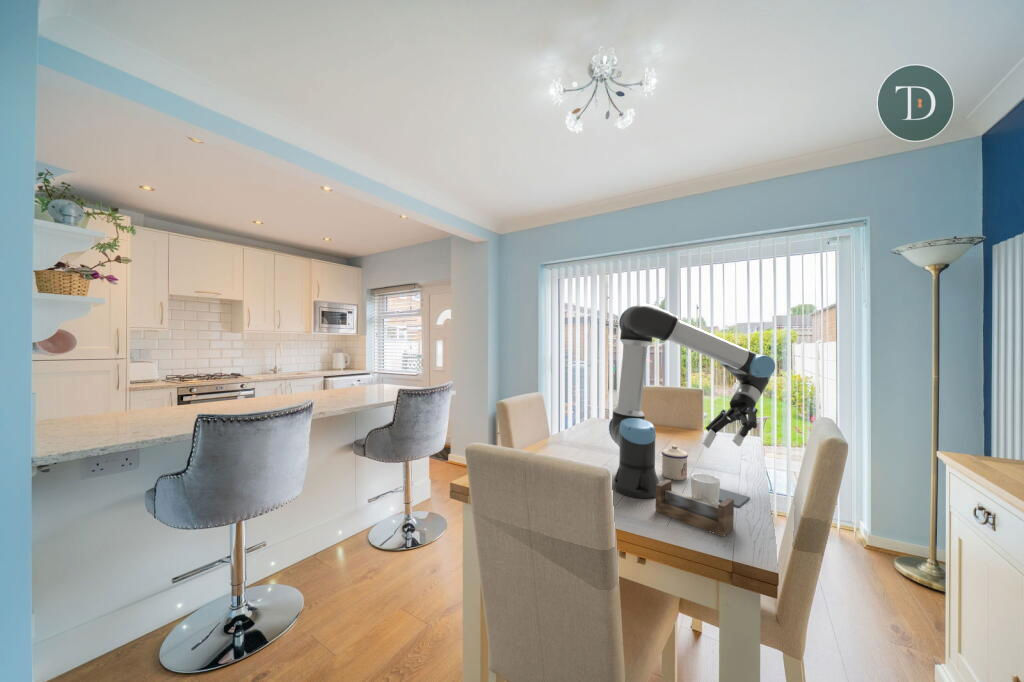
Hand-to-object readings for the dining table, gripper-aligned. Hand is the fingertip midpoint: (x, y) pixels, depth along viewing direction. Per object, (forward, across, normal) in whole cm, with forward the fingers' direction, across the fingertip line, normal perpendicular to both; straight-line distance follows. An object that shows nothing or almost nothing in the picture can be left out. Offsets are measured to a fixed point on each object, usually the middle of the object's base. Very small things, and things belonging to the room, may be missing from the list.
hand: (719, 444), depth 128 cm
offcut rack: (+30, -8, +2) cm, 32 cm away
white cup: (+24, -4, -3) cm, 25 cm away
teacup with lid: (+10, +22, -5) cm, 24 cm away
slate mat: (+13, +2, -11) cm, 17 cm away
